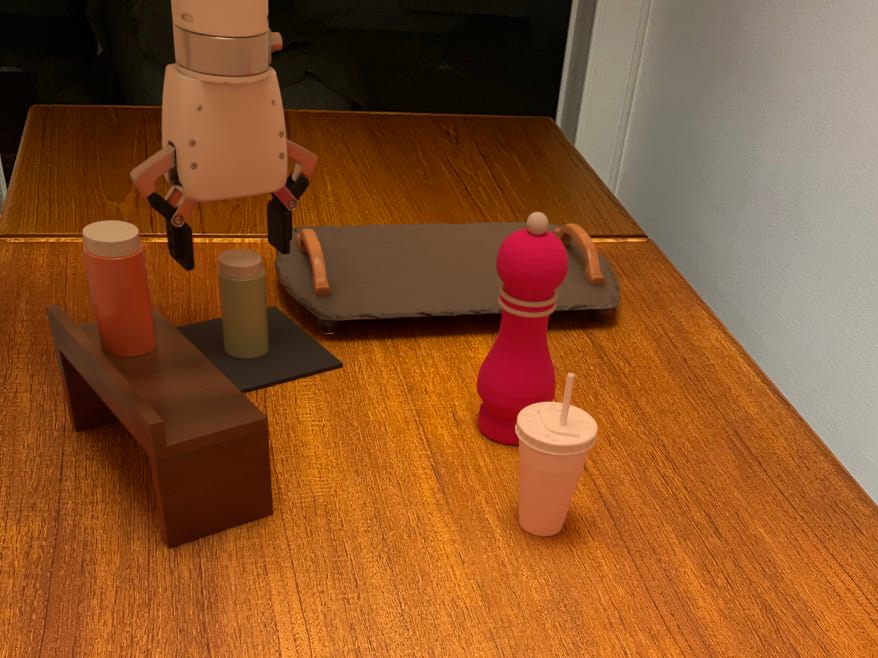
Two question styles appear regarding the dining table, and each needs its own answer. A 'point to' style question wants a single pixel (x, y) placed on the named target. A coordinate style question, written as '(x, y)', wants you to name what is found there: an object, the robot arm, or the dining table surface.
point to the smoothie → (551, 460)
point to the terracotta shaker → (119, 288)
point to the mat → (282, 362)
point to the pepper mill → (522, 329)
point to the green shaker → (243, 303)
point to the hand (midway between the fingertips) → (232, 256)
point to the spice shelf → (173, 424)
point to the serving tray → (426, 271)
